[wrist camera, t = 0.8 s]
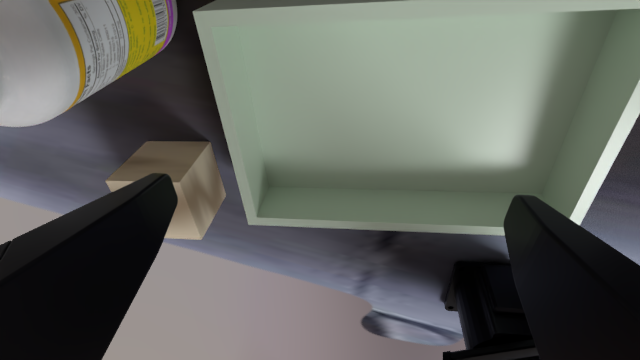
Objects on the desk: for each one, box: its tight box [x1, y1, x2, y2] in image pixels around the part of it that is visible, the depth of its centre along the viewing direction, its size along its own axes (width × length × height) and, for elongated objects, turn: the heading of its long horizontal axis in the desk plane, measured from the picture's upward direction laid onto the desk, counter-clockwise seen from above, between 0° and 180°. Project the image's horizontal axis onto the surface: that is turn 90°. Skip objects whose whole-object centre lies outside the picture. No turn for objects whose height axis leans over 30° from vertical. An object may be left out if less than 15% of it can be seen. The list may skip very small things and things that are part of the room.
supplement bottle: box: [0, 0, 177, 127], centre depth 14 cm, size 7×7×13 cm
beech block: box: [106, 141, 226, 240], centre depth 25 cm, size 5×5×5 cm
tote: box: [192, 0, 640, 236], centre depth 20 cm, size 13×20×4 cm, turn 94°
